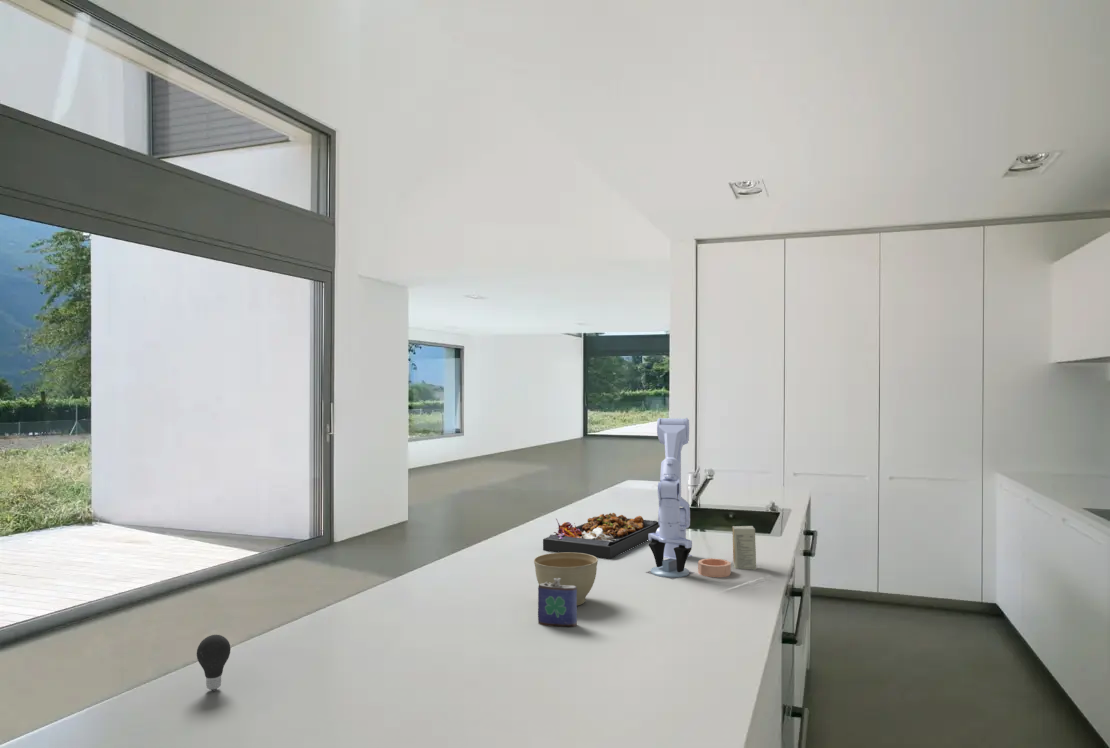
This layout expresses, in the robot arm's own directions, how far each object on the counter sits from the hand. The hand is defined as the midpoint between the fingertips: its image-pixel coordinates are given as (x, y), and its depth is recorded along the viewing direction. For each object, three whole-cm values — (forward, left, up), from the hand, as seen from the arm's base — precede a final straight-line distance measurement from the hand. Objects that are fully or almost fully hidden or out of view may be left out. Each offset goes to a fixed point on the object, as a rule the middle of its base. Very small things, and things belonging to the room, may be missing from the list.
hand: (669, 568), depth 211 cm
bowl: (+9, +9, -1) cm, 13 cm away
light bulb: (-6, -123, -2) cm, 123 cm away
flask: (+10, -53, -2) cm, 54 cm away
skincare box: (+11, +21, -2) cm, 24 cm away
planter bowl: (-1, -40, -2) cm, 40 cm away
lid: (0, 0, -1) cm, 1 cm away
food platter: (-42, +18, -2) cm, 46 cm away
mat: (0, 0, -1) cm, 1 cm away
